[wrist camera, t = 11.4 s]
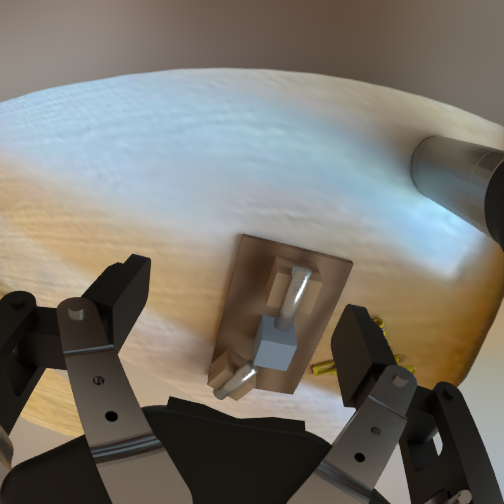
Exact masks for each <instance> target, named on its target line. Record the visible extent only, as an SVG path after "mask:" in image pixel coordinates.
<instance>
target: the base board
mask: <svg viewBox="0 0 504 504" xmlns="http://www.w3.org/2000/svg"><path fill="white" fill-rule="evenodd" d="M295 264H301V265H304V266H307V267H308V268H310V269H311V271H312V273H311V276H310V278H309V281H308V283H307V286H306V289H305V291H304V294H303V297H302V299H301V302H300V304H299V307H298V310H297V313H296V315H295V318H294V320H293V321H294V323H295V332H296V341H297V348H296V351H295V353H294V355H293V357H292V360H291V362H290V364H289V366H288V368H287V371H283V370H277V369H271V368H266V367H261V366H259V372H258V373H256V374H255V375H254V376H253V377H251V378H250V379H249V380H248V381H246V382H245V383H244V384H243V385H241V386H240V387H239V388H237V389H236V390H235V391H234V392H232V393H231V394H230V395H228V396H229V397H231V398H232V399H234V400H236V401H237V400H239V399H240V398H241V397H243V396H244V395H245V394H247V393H248V392H249V391H251V390H252V389H253V388H256V389H262V390H268V391H274V392H280V393H286V394H293V393H294V391H295V389H296V388H297V386H298V384H299V382H300V380H301V378H302V376H303V374H304V372H305V370H306V368H307V366H308V364H309V362H310V360H311V358H312V356H313V354H314V352H315V350H316V348H317V346H318V344H319V341H320V339H321V337H322V335H323V333H324V331H325V329H326V326H327V324H328V322H329V320H330V318H331V315H332V313H333V311H334V309H335V307H336V304H337V302H338V300H339V297H340V295H341V293H342V290H343V288H344V286H345V283H346V281H347V279H348V276H349V274H350V271H351V269H352V266H353V262H352V261H350V260H346V259H342V258H338V257H334V256H330V255H326V254H322V253H318V252H314V251H310V250H306V249H302V248H298V247H294V246H290V245H286V244H282V243H278V242H274V241H270V240H266V239H262V238H258V237H254V236H250V235H246V234H243V237H242V241H241V245H240V249H239V252H238V256H237V260H236V264H235V268H234V272H233V277H232V281H231V285H230V289H229V293H228V297H227V301H226V305H225V309H224V313H223V317H222V321H221V325H220V329H219V334H218V338H217V342H216V346H215V350H214V354H213V358H212V363H211V367H210V371H209V375H208V382H207V385H208V386H210V387H212V388H214V389H216V390H218V389H219V388H220V387H221V386H223V385H224V384H225V383H226V382H227V381H229V380H230V379H231V378H232V377H234V376H235V371H236V370H237V369H238V368H239V367H241V366H242V365H243V364H244V363H245V362H247V361H248V360H253V358H254V341H255V336H256V333H257V330H258V327H259V324H260V321H261V318H262V315H266V316H271V317H276V315H277V312H278V309H279V308H280V309H281V306H282V303H283V301H284V298H285V295H286V292H287V289H288V286H289V283H290V281H291V278H292V275H291V272H292V269H293V266H294V265H295Z"/></svg>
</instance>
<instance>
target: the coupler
mask: <svg viewBox="0 0 504 504" xmlns="http://www.w3.org/2000/svg"><path fill="white" fill-rule="evenodd" d="M275 318H276V317H271V316H266V315H262V318H261V321H260V324H259V327H258V330H257V333H256V336H255V341H254V358H253V365H255V366H261V367H266V368H271V369H277V370H283V371H287V368H288V366H289V364H290V362H291V360H292V357H293V355H294V353H295V351H296V348H297V341H296V332H295V323H294V321H293V323H292V325H291V328H290V330H289V331H280V330H278V329H276V328H275V327H274V324H273V323H274V320H275Z"/></svg>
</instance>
